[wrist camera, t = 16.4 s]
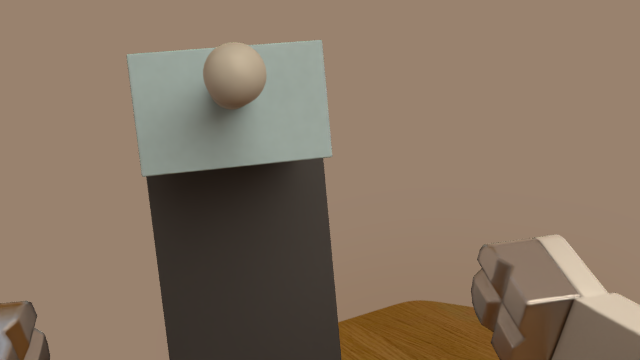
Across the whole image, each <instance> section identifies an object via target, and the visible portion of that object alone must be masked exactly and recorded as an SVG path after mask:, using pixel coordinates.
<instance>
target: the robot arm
mask: <svg viewBox="0 0 640 360" xmlns="http://www.w3.org/2000/svg"><path fill="white" fill-rule="evenodd" d="M477 260H478V262H479V264H480V265H481V267H482V269H481V270H480V271H479V272H478V273H477V274H476V275H475V276H474V277H473V282H472V288H471V293H472V303H473V306H474V310H475V313H476V315H477V317H478V319H479V321H480V323H481V325H483V326H485V327H486V328H488V329H489V330H491V331H492V332H494V333H493V337H492V341H491V344H492V346H493V348H494V349H495V351H496V353H497V355H498V357H499V359H500V360H640V305H639V304H637V303H635V302H633V301H631V300H629V299H627V298H625V297H623V296H621V295H620V294H618V293H608V292H607V291H606V290H605V288H604V287H603V286H602V285H601V284H600V282H599V281H598V280H597V279H596V277H595V276H594V275H593V274H592V272H591V271H590V270H589V269H588V267H587V266H586V265H585V264H584V262H583V261H582V260H581V259H580V257H579V256H578V255H577V254H576V252H575V251H574V250H573V249H572V248H571V246H570V245H569V244H568V243H567V241H566V240H565V239H564V238H563V237H561V236H559V235H558V234H557V235H551V236H542V237H536V238H532V239H530V238H529V239H521V240H513V241H506V242H498V243H491V244H484V245H483V246H482V248H481V249H480V251H479V255H478V259H477ZM36 318H37V314H36V312H35V310H34V307H33V305H32V303H31V302H28V301H20V302H10V303H0V360H50V353H49V349H48V343H47V340H46V337H45V335H44V333H43V332H41V331H39V330H38V329H36V328H34V326H35V322H36Z"/></svg>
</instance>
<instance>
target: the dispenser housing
mask: <svg viewBox="0 0 640 360" xmlns="http://www.w3.org/2000/svg"><path fill="white" fill-rule="evenodd" d="M146 177H147V185H148V193H149V201H150V209H151V216H152V225H153V232H154V240H155V248H156V256H157V264H158V271H159V280H160V287H161V295H162V303H163V311H164V319H165V326H166V335H167V343H168V350H169V358H170V360H341V350H340V339H339V328H338V317H337V306H336V295H335V284H334V273H333V262H332V252H331V240H330V230H329V218H328V208H327V196H326V185H325V174H324V163H323V158H318V159H309V160H299V161H290V162H280V163H271V164H261V165H251V166H242V167H232V168H223V169H213V170H204V171H194V172H185V173H175V174H165V175H156V176H146Z"/></svg>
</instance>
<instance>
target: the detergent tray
mask: <svg viewBox="0 0 640 360" xmlns="http://www.w3.org/2000/svg"><path fill="white" fill-rule="evenodd" d="M127 63H128V71H129V79H130V87H131V94H132V102H133V110H134V118H135V126H136V134H137V141H138V149H139V157H140V165H141V173H142V176H143V177H145V176H156V175H165V174H175V173H185V172H194V171H204V170H213V169H223V168H232V167H242V166H251V165H261V164H271V163H280V162H290V161H299V160H309V159H318V158H327V157H332V148H331V136H330V125H329V114H328V103H327V93H326V92H327V91H326V80H325V69H324V58H323V46H322V41H321V40H314V41H301V42H287V43H274V44H261V45H245V44H242V43H238V42H231V43H225V44H223V45H220V46H218V47H217V48H206V49H193V50H180V51H165V52H154V53H152V52H151V53H139V54H128V55H127Z"/></svg>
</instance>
